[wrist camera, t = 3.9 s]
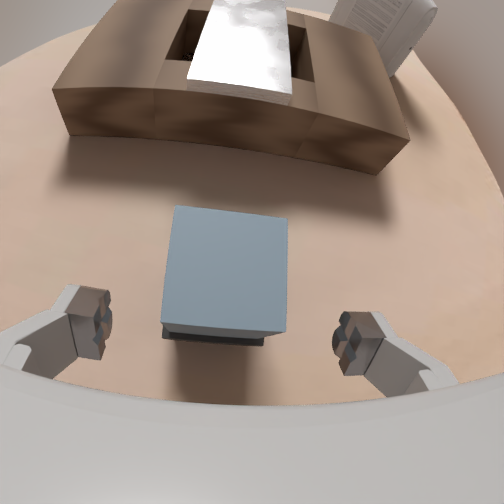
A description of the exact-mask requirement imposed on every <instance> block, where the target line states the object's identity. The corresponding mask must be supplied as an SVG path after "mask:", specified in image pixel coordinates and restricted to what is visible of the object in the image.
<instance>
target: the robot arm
mask: <svg viewBox="0 0 504 504" xmlns="http://www.w3.org/2000/svg"><path fill="white" fill-rule="evenodd" d="M110 302H111V299H110V292H109V291H108V290H105V289H99V288H93V287H87V286H81V285H75V284H68V285H66V287H65V288H64V290H63V291H62V293H61V294H60V296H59V297H58V299H57V300H56V302H55V303H54V305H53V306H52V308H51V309H50V310H44V311H42V312H40V313H38V314H36V315H34V316H32V317H30V318H28V319H26V320H24V321H22V322H20V323H18V324H16V325H14V326H12V327H10V328H8V329H6V330H4V331H2V332H0V504H504V372H503V373H499V374H496V375H492V376H489V377H485V378H482V379H478V380H474V381H470V382H466V383H462V384H459V382H458V381H457V379H456V378H455V376H454V375H453V373H452V372H451V371H450V369H449V368H448V366H447V365H445V364H444V363H442V362H440V361H439V360H437V359H435V358H434V357H432V356H431V355H429V354H427V353H426V352H424V351H423V350H421V349H419V348H418V347H416V346H414V345H413V344H411V343H410V342H408V341H406V340H405V339H403V338H398V336H397V335H396V333H395V332H394V330H393V329H392V327H391V326H390V324H389V323H388V321H387V320H386V318H385V317H384V315H383V314H382V313H381V312H347V311H344V312H343V313H342V314H341V316H340V319H339V322H340V326H339V327H338V328H337V329H336V330H335V332H334V334H333V337H332V348H333V351H334V354H335V355H336V356H338V357H339V358H340V360H339V366H340V368H341V370H342V373H343V375H344V376H355V375H364V377H365V378H366V379H367V380H369V381H370V382H371V383H372V384H373V385H374V386H375V387H376V388H377V389H378V390H379V391H380V392H382V393H383V394H384V395H385V396H386V397H387V398H380V399H372V400H364V401H354V402H343V403H330V404H312V405H280V406H253V405H222V404H205V403H191V402H180V401H170V400H161V399H153V398H146V397H139V396H132V395H126V394H120V393H114V392H108V391H103V390H98V389H93V388H88V387H83V386H78V385H74V384H70V383H65V382H61V381H57V380H53V378H54V377H55V376H57V375H58V374H59V373H60V372H61V371H63V370H64V369H65V368H66V367H68V366H69V365H70V364H71V363H72V362H74V361H75V360H76V359H77V358H78V357H82V358H88V359H94V360H101V359H102V356H103V353H104V350H105V348H106V345H105V340H107V339H108V338H109V336H110V333H111V329H112V311H111V310H110V309H109V307H108V306H109V304H110Z"/></svg>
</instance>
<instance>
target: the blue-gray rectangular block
mask: <svg viewBox="0 0 504 504" xmlns="http://www.w3.org/2000/svg"><path fill="white" fill-rule="evenodd" d="M287 256H288V219H286V218H279V217H272V216H264V215H256V214H249V213H241V212H233V211H224V210H216V209H207V208H199V207H190V206H181V205H175V210H174V216H173V223H172V229H171V236H170V243H169V250H168V258H167V266H166V274H165V282H164V291H163V300H162V310H161V320H160V322H161V323H162V324H163V331H162V338H164V339H170V340H180V341H190V342H201V343H213V344H226V345H242V346H263V343H264V337H267V336H271V335H275V334H279V333H283V332H286V312H287Z"/></svg>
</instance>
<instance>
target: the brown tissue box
mask: <svg viewBox="0 0 504 504" xmlns="http://www.w3.org/2000/svg"><path fill="white" fill-rule="evenodd" d="M213 2H214V0H117V1H116V3H115V4H114V5H113V6H112V7H111V8H110V10H109V11H108V12H107V13H106V14H105V15H104V16H103V18H102V19H101V20H100V21H99V23H98V24H97V25H96V26H95V27H94V29H93V30H92V31H91V33H90V34H89V35H88V36H87V38H86V39H85V40H84V42H83V43H82V44H81V46H80V47H79V49H78V50H77V51H76V53H75V54H74V56H73V57H72V58H71V60H70V61H69V63H68V64H67V66H66V67H65V69H64V70H63V72H62V73H61V75H60V77H59V78H58V80H57V81H56V83H55V85H54V86H53V88H52V91H53V94H54V97H55V99H56V102H57V105H58V107H59V110H60V113H61V115H62V118H63V120H64V123H65V125H66V128H67V130H68V133H69V135H81V136H114V137H133V138H148V139H160V140H172V141H182V142H192V143H201V144H209V145H217V146H225V147H232V148H239V149H246V150H253V151H259V152H265V153H271V154H277V155H283V156H289V157H294V158H299V159H304V160H310V161H315V162H319V163H324V164H329V165H334V166H338V167H343V168H347V169H351V170H356V171H360V172H364V173H368V174H372V175H377V174H378V173H379V172H380V171H381V170H382V169H383V168H384V167H385V166H386V165H387V164H388V163H389V162H390V161H391V160H392V159H393V158H394V157H395V156H396V155H397V154H398V153H399V152H400V151H401V150H402V149H403V148H404V147H405V145H406V144H407V143H408V142H409V141H410V137H409V134H408V131H407V127H406V124H405V121H404V118H403V115H402V112H401V109H400V106H399V103H398V100H397V98H396V95H395V92H394V89H393V87H392V84H391V81H390V79H389V76H388V74H387V71H386V69H385V66H384V64H383V62H382V59H381V57H380V55H379V52H378V50H377V48H376V46H375V43H374V41H373V39H372V37H371V36H369V35H367V34H364V33H361V32H358V31H356V30H353V29H350V28H347V27H344V26H341V25H338V24H335V23H332V22H329V21H325V20H322V19H318V18H315V17H311V16H308V15H304V14H300V13H296V12H292V11H288V10H286V15H287V26H288V38H289V51H290V66H291V81H292V96H291V99H290V101H289V103H288V106H286V105H281V104H276V103H271V102H265V101H260V100H254V99H248V98H242V97H235V96H228V95H221V94H213V93H204V92H195V91H186V88H187V77H188V74H189V71H190V67H191V64H192V62H191V61H181V60H182V58H183V55H184V53H195V52H196V49H197V46H198V43H199V40H200V37H201V34H202V31H203V28H204V26H205V23H206V20H207V17H208V15H209V12H210V9H211V7H212V4H213Z"/></svg>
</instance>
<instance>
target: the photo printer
mask: <svg viewBox="0 0 504 504" xmlns="http://www.w3.org/2000/svg"><path fill="white" fill-rule="evenodd" d="M437 9H438V8H437V6H436V5H435V3H434V2H433V1H432V0H338V2H337V4H336V6H335V9H334V11H333V13H332V14H331V16H330V19H329V22H332V23H335V24H338V25H341V26H344V27H347V28H350V29H353V30H356V31H358V32H361V33H364V34H367V35H369V36H371V37H372V39H373V41H374V43H375V46H376V48H377V50H378V52H379V55H380V57H381V59H382V62H383V64H384V66H385V69H386V71H387V74H388V76H389V77H392V76H393V75H394V74H395V72H396V71H397V70H398V68H399V67H400V65H401V64H402V63H403V61H404V60H405V59H406V57H407V56H408V55H409V53H410V52H411V51H412V49H413V48H414V46H415V45H416V44H417V42H418V41H419V40H420V38H421V37H422V35H423V34H424V33H425V31H426V30H427V28H428V27H429V26H430V24H431V23H432V21H433V19H434V17H435V15H436V13H437Z"/></svg>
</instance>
